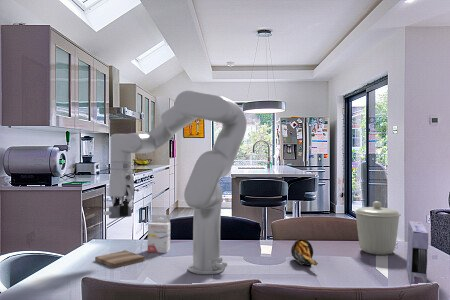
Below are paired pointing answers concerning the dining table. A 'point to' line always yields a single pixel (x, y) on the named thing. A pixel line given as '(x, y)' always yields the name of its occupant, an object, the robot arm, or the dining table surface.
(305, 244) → the fried shrimp in bowl
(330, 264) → the dining table surface
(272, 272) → the dining table surface
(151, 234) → the ink cartridge box
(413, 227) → the cake pan box
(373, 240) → the canister
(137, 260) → the walnut board
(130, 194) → the robot arm
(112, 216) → the grey double dome block
